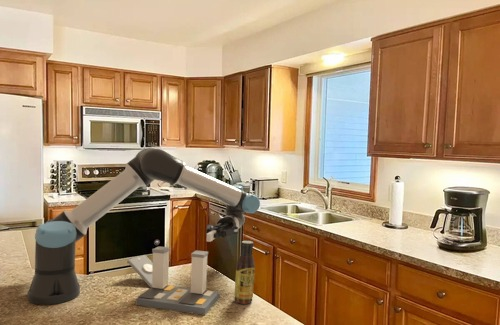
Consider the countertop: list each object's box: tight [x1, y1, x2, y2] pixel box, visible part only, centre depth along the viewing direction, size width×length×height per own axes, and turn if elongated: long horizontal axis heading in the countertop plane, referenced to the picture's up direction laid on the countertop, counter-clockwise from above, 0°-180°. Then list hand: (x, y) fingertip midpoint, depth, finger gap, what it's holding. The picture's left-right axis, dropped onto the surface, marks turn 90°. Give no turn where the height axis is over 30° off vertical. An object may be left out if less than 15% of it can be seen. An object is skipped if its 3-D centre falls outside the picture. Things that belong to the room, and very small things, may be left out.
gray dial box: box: [126, 254, 153, 288], centre depth 140 cm, size 8×6×14 cm
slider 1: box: [151, 246, 171, 289], centre depth 127 cm, size 4×4×13 cm
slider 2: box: [190, 249, 209, 294], centre depth 124 cm, size 4×4×13 cm
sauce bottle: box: [233, 240, 256, 305], centre depth 123 cm, size 7×6×20 cm
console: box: [135, 284, 221, 316], centre depth 121 cm, size 23×14×2 cm, turn 77°
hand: (208, 237), depth 131 cm, fingers closed
